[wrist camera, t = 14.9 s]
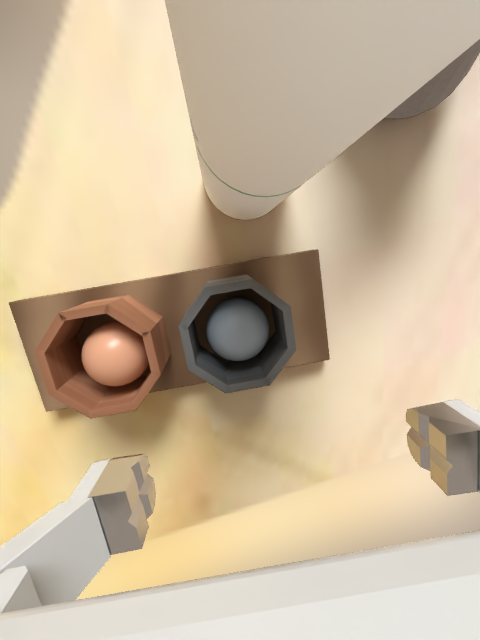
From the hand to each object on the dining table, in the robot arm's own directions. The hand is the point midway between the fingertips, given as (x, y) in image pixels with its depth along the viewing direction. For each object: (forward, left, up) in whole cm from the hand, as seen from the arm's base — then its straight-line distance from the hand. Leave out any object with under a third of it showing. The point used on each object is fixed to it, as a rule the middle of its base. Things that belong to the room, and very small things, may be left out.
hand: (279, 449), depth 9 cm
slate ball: (0, 0, -15) cm, 15 cm away
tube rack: (+5, 0, -19) cm, 20 cm away
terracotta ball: (+10, 0, -15) cm, 18 cm away
